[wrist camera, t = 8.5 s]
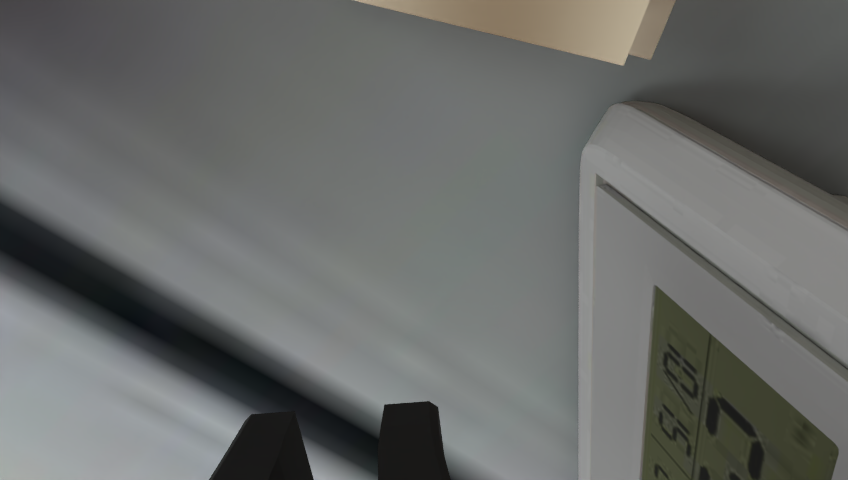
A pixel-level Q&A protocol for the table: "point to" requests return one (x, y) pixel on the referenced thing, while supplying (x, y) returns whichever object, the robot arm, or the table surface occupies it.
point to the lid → (555, 22)
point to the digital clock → (707, 309)
